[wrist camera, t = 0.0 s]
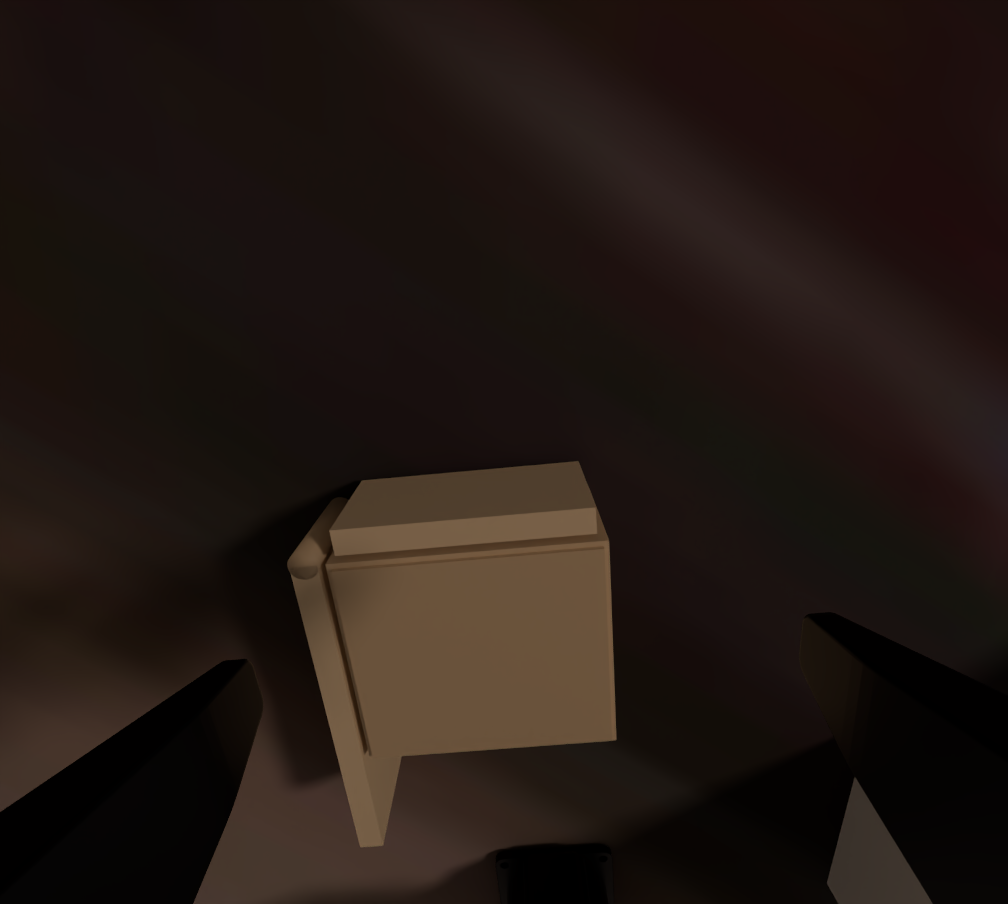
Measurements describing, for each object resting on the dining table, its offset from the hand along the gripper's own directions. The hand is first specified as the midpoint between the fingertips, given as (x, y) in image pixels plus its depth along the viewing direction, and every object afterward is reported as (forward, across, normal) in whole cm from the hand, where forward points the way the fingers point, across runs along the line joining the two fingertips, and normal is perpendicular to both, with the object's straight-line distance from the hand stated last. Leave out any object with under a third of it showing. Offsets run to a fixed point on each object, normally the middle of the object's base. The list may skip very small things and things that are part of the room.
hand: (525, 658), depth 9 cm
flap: (+14, +8, +10) cm, 19 cm away
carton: (+15, +2, +8) cm, 17 cm away
